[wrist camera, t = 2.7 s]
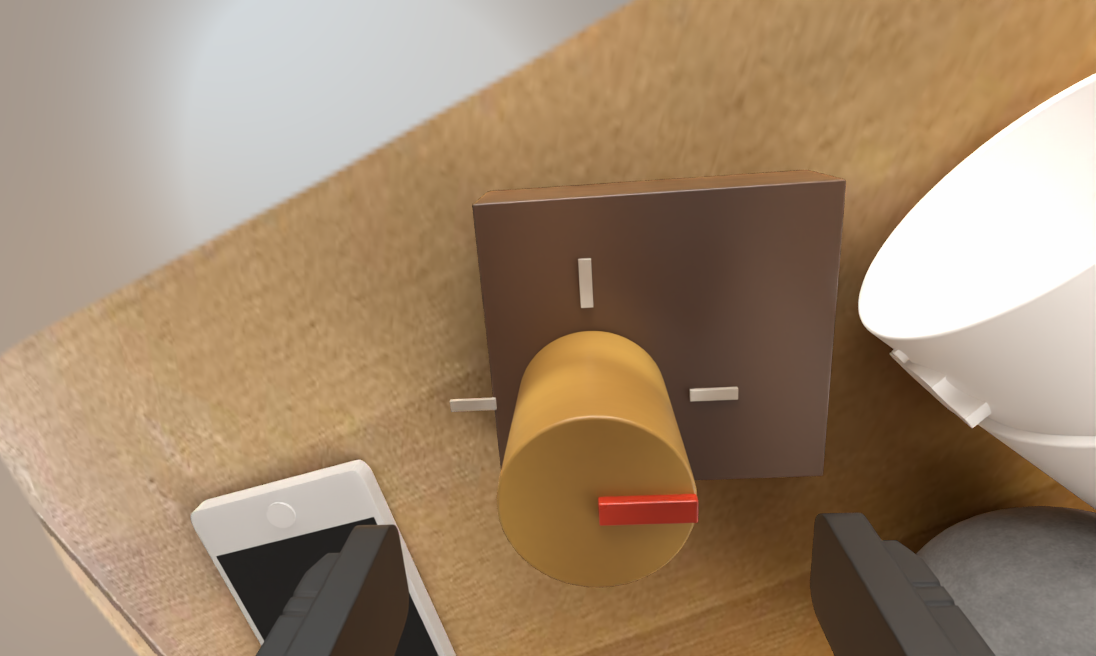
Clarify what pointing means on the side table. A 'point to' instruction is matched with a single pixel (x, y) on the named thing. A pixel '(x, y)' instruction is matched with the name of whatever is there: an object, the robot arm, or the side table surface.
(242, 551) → the smartphone
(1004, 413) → the mug
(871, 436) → the side table surface
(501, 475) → the knob
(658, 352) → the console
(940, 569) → the decorative ball
